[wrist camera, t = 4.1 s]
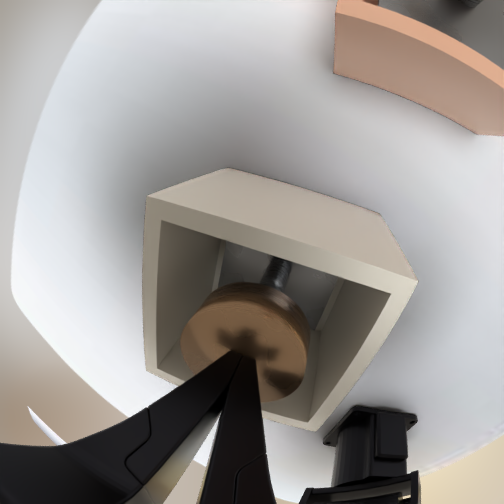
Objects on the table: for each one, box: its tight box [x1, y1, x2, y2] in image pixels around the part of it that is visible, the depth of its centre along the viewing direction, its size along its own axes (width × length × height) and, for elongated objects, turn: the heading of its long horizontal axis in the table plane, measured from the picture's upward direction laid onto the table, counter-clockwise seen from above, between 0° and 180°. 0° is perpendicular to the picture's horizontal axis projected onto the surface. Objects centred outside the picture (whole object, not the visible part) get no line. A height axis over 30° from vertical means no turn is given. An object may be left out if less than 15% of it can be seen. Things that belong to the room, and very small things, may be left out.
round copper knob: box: [180, 241, 338, 403], centre depth 11 cm, size 6×6×7 cm
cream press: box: [142, 168, 419, 432], centre depth 12 cm, size 8×8×7 cm
